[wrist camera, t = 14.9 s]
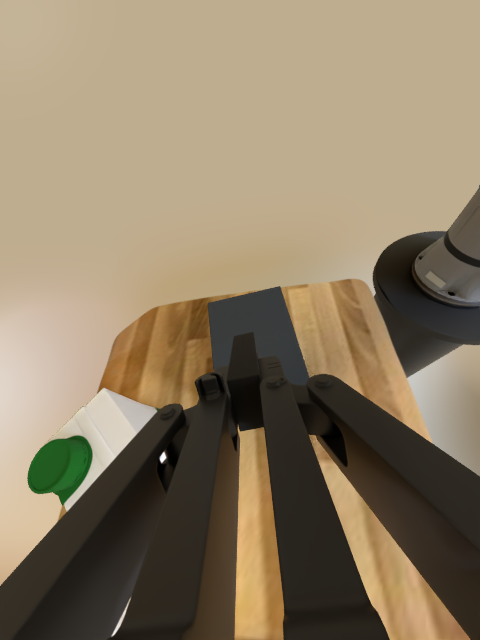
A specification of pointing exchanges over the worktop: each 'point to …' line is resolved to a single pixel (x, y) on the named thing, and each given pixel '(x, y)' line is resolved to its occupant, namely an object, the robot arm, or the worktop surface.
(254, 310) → the lid
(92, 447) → the milk carton
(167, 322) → the worktop surface
